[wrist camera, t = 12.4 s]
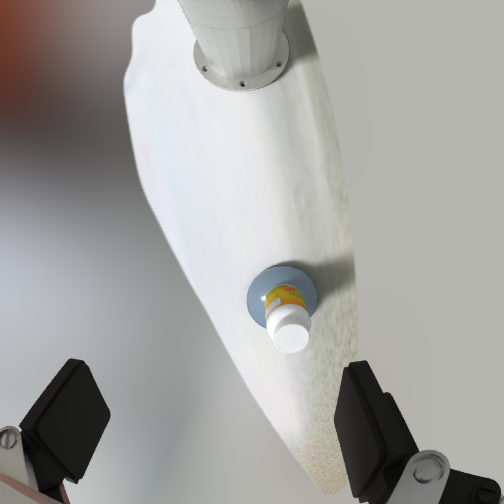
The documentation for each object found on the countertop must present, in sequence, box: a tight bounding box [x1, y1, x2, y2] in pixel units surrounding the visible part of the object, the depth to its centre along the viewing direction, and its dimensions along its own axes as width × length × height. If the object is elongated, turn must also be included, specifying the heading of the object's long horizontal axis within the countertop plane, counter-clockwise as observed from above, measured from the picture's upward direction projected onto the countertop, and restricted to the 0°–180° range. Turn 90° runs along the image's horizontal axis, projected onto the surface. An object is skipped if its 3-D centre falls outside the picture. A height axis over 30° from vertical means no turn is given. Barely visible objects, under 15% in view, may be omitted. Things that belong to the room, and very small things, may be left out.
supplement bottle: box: [265, 284, 311, 353], centre depth 35 cm, size 5×5×10 cm
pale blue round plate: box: [247, 266, 317, 329], centre depth 40 cm, size 10×10×2 cm
